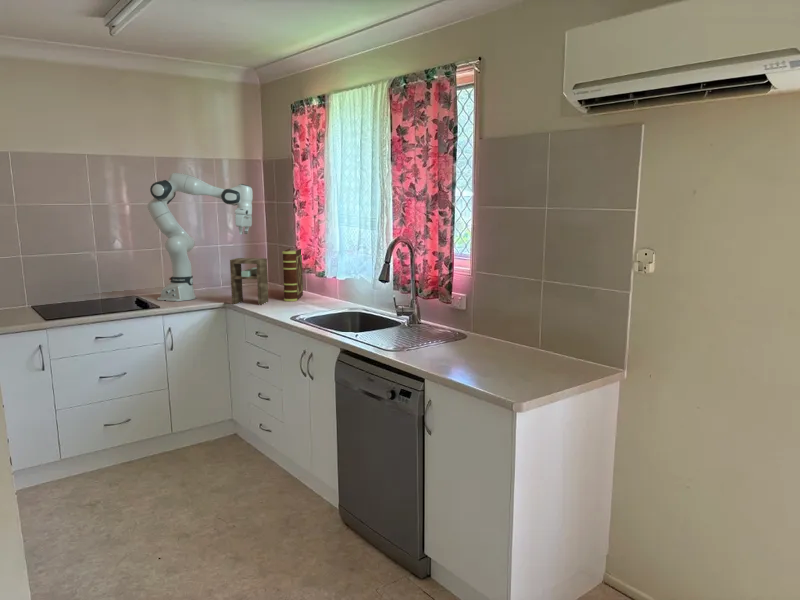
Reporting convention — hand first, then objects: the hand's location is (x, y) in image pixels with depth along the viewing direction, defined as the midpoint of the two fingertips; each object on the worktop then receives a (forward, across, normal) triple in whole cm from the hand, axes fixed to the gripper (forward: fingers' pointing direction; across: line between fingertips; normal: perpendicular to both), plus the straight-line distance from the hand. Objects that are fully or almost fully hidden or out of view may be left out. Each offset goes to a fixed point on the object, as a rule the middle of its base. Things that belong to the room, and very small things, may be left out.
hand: (243, 234), depth 362 cm
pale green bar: (+23, +15, +10) cm, 29 cm away
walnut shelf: (+39, +17, +12) cm, 44 cm away
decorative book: (+37, -1, +33) cm, 50 cm away
